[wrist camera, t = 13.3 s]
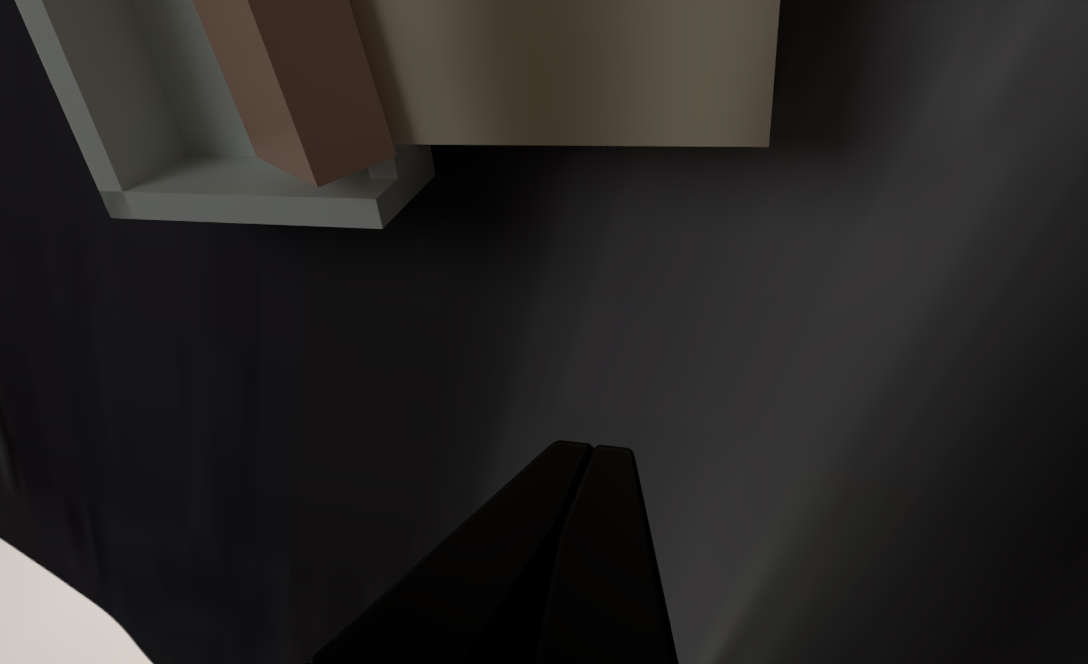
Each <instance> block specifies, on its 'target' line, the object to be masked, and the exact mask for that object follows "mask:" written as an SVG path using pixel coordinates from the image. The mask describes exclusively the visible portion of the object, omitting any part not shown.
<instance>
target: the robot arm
mask: <svg viewBox="0 0 1088 664" xmlns="http://www.w3.org/2000/svg"><path fill="white" fill-rule="evenodd" d="M305 664H310V663H305ZM312 664H678V659H677V654H676V649H675V645H674V640H673V635H672V631H671V626H670V621H669V616H668V612H667V607H666V602H665V597H664V593H663V588H662V583H661V579H660V574H659V569H658V564H657V560H656V555H655V550H654V545H653V541H652V536H651V531H650V527H649V522H648V517H647V512H646V508H645V503H644V498H643V493H642V489H641V484H640V479H639V474H638V470H637V465H636V460H635V456H634V453H633V451H632V450H631V449H629V448H623V447H615V446H606V445H598V446H596V447H595V448H593V447H592V446H591V445H590V444H588V443H580V442H571V441H563V440H560V441H556V442H554V443H552V444H551V445H550V446H549V447H548V448H546V449H545V450H544V451H543V452H542V453H541V454H540V455H539V456H537V457H536V458H535V459H534V460H533V461H532V462H531V463H530V464H528V465H527V466H526V467H525V468H524V469H523V470H522V471H521V472H519V473H518V474H517V475H516V476H515V477H514V478H513V479H512V480H511V481H509V482H508V483H507V484H506V485H505V486H504V487H503V488H502V489H500V490H499V491H498V492H497V493H496V494H495V495H494V496H493V497H491V498H490V499H489V500H488V501H487V502H486V503H485V504H484V505H482V506H481V507H480V508H479V509H478V510H477V511H476V512H475V513H473V514H472V515H471V516H470V517H469V518H468V519H467V520H466V521H465V522H463V523H462V524H461V525H460V526H459V527H458V528H457V529H456V530H454V531H453V532H452V533H451V534H450V535H449V536H448V537H447V538H445V539H444V540H443V541H442V542H441V543H440V544H439V545H438V546H436V547H435V548H434V549H433V550H432V551H431V552H430V553H429V554H428V555H426V556H425V557H424V558H423V559H422V560H421V561H420V562H419V563H417V564H416V565H415V566H414V567H413V568H412V569H411V570H410V571H408V572H407V573H406V574H405V575H404V576H403V577H402V578H401V579H399V580H398V581H397V582H396V583H395V584H394V585H393V586H392V587H391V588H389V589H388V590H387V591H386V592H385V593H384V594H383V595H382V596H380V597H379V598H378V599H377V600H376V601H375V602H374V603H373V604H371V605H370V606H369V607H368V608H367V609H366V610H365V611H364V612H362V613H361V614H360V615H359V616H358V617H357V618H356V619H355V620H354V621H352V622H351V623H350V624H349V625H348V626H347V627H346V628H345V629H343V630H342V631H341V632H340V633H339V634H338V635H337V636H336V637H334V638H333V639H332V640H331V641H330V642H329V643H328V644H327V645H325V646H324V647H323V648H322V649H321V650H320V651H319V652H318V653H317V654H315V655H314V656H313V658H312Z"/></svg>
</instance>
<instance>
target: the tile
mask: <svg viewBox="0 0 1088 664" xmlns="http://www.w3.org/2000/svg"><path fill="white" fill-rule="evenodd" d="M192 1H193V3H194V5H195V8H196V10H197V13H198V15H199V18H200V20H201V22H202V25H203V27H204V30H205V32H206V35H207V37H208V39H209V42H210V44H211V47H212V49H213V52H214V54H215V57H216V59H217V61H218V64H219V66H220V69H221V71H222V74H223V76H224V78H225V81H226V83H227V86H228V88H229V91H230V93H231V95H232V98H233V100H234V103H235V105H236V108H237V110H238V113H239V115H240V117H241V120H242V122H243V125H244V127H245V130H246V132H247V134H248V137H249V139H250V142H251V144H252V147H253V149H254V152H255V154H256V156H257V158H259V159H261V160H263V161H265V162H267V163H269V164H271V165H273V166H275V167H277V168H279V169H281V170H283V171H285V172H287V173H289V174H291V175H293V176H295V177H297V178H299V179H301V180H303V181H305V182H307V183H309V184H311V185H313V186H315V187H317V188H318V187H321V186H323V185H326V184H328V183H331V182H333V181H336V180H338V179H341V178H343V177H346V176H349V175H351V174H354V173H356V172H359V171H361V170H364V169H366V168H369V167H371V166H374V165H376V164H379V163H381V162H384V161H386V160H389V159H391V158H394V157H396V156H397V155H396V152H395V148H394V145H393V142H392V139H391V135H390V132H389V129H388V126H387V123H386V119H385V116H384V113H383V110H382V106H381V103H380V100H379V97H378V94H377V90H376V87H375V84H374V81H373V77H372V74H371V71H370V68H369V65H368V61H367V58H366V55H365V52H364V48H363V45H362V42H361V39H360V35H359V32H358V29H357V26H356V23H355V19H354V16H353V13H352V10H351V6H350V3H349V0H192Z"/></svg>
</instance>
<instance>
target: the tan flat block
mask: <svg viewBox="0 0 1088 664" xmlns="http://www.w3.org/2000/svg"><path fill="white" fill-rule="evenodd" d="M349 3H350V6H351V10H352V13H353V16H354V19H355V23H356V26H357V29H358V32H359V35H360V39H361V42H362V45H363V48H364V52H365V55H366V58H367V61H368V65H369V68H370V71H371V74H372V77H373V81H374V84H375V87H376V90H377V94H378V97H379V100H380V103H381V106H382V110H383V113H384V116H385V119H386V123H387V126H388V129H389V132H390V135H391V139H392V142H393V144H419V145H555V146H692V147H769V139H770V126H771V113H772V100H773V87H774V74H775V61H776V48H777V35H778V22H779V9H780V0H349Z"/></svg>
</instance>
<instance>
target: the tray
mask: <svg viewBox="0 0 1088 664" xmlns="http://www.w3.org/2000/svg"><path fill="white" fill-rule="evenodd" d="M15 2H16V4H17V6H18V9H19V11H20V13H21V15H22V18H23V20H24V22H25V25H26V27H27V29H28V31H29V34H30V36H31V38H32V40H33V43H34V45H35V47H36V49H37V52H38V54H39V56H40V58H41V61H42V63H43V65H44V68H45V70H46V72H47V74H48V77H49V79H50V81H51V83H52V86H53V88H54V90H55V92H56V95H57V97H58V99H59V101H60V104H61V106H62V108H63V111H64V113H65V115H66V117H67V120H68V122H69V124H70V126H71V129H72V131H73V133H74V135H75V138H76V140H77V142H78V144H79V147H80V149H81V151H82V154H83V156H84V158H85V160H86V163H87V165H88V167H89V169H90V172H91V174H92V176H93V178H94V181H95V183H96V185H97V187H98V190H99V192H100V194H101V197H102V199H103V201H104V203H105V206H106V208H107V210H108V212H109V215H110V217H111V218H126V219H151V220H176V221H200V222H225V223H249V224H274V225H298V226H323V227H347V228H372V229H383V228H384V227H385V226H386V225H387V224H388V223H389V222H390V221H391V220H392V219H393V218H394V217H395V216H396V215H397V214H398V213H399V212H400V211H401V210H402V209H403V208H404V207H405V206H406V205H407V204H408V203H409V202H410V200H411V199H412V198H413V197H414V196H415V195H416V194H417V193H418V192H419V191H420V190H421V189H422V188H423V187H424V186H425V185H426V184H427V183H428V182H429V181H430V180H431V179H432V178H433V177H434V176H435V169H434V163H433V158H432V152H431V146H430V145H419V144H393V145H394V148H395V152H396V155H397V156H396V157H394V158H391V159H389V160H386V161H384V162H381V163H379V164H376V165H374V166H371V167H369V168H366V169H364V170H361V171H359V172H356V173H354V174H351V175H349V176H346V177H343V178H341V179H338V180H336V181H333V182H331V183H328V184H326V185H323V186H321V187H318V188H317V187H315V186H313V185H311V184H309V183H307V182H305V181H303V180H301V179H299V178H297V177H295V176H293V175H291V174H289V173H287V172H285V171H283V170H281V169H279V168H277V167H275V166H273V165H271V164H269V163H267V162H265V161H263V160H261V159H259V158H257V156H256V154H255V152H254V149H253V147H252V144H251V142H250V139H249V137H248V134H247V132H246V130H245V127H244V125H243V122H242V120H241V117H240V115H239V113H238V110H237V108H236V105H235V103H234V100H233V98H232V95H231V93H230V91H229V88H228V86H227V83H226V81H225V78H224V76H223V74H222V71H221V69H220V66H219V64H218V61H217V59H216V57H215V54H214V52H213V49H212V47H211V44H210V42H209V39H208V37H207V35H206V32H205V30H204V27H203V25H202V22H201V20H200V18H199V15H198V13H197V10H196V8H195V5H194V3H193V1H192V0H15Z"/></svg>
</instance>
